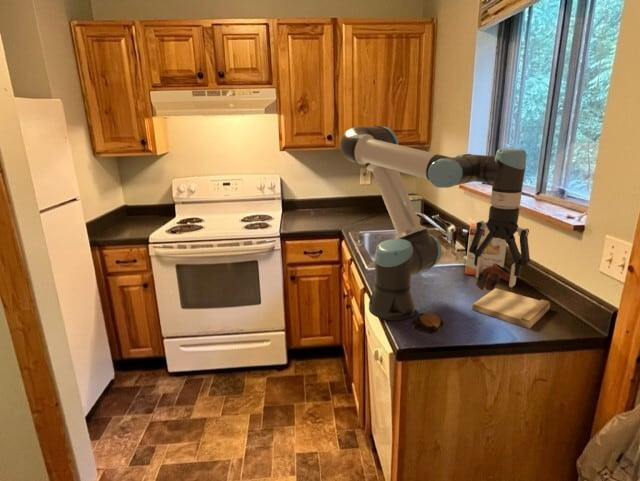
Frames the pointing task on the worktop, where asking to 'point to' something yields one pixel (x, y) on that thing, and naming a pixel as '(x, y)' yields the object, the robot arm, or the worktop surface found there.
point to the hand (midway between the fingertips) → (494, 280)
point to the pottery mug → (492, 277)
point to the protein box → (417, 205)
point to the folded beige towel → (512, 307)
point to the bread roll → (428, 323)
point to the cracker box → (485, 251)
